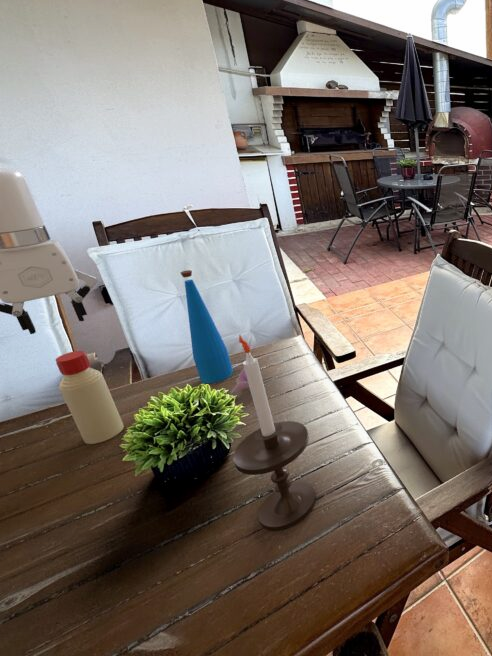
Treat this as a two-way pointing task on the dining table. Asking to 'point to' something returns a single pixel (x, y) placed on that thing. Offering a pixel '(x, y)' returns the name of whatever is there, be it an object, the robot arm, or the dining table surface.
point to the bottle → (205, 338)
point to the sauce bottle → (91, 405)
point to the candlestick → (274, 457)
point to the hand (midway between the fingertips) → (57, 324)
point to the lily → (241, 381)
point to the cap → (72, 362)
